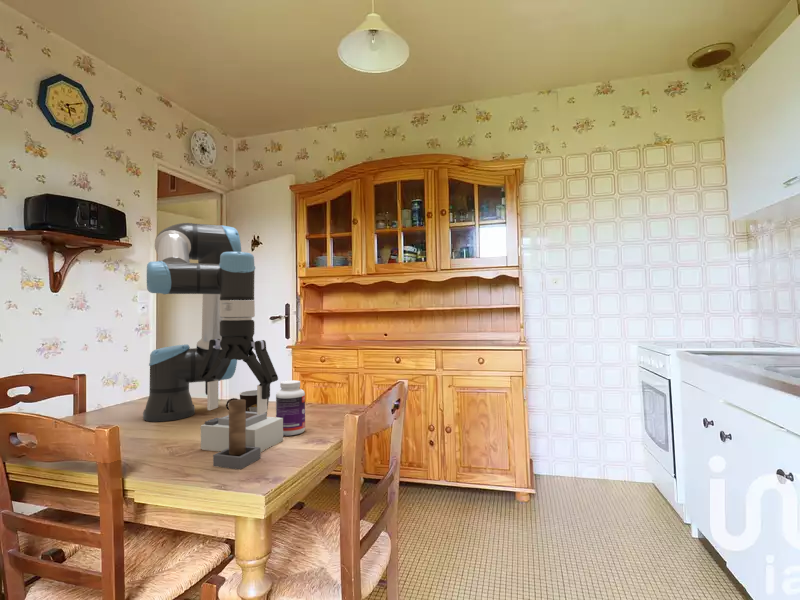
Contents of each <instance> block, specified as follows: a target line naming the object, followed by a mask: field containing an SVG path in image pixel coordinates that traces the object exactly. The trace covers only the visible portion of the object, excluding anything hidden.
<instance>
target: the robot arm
mask: <svg viewBox="0 0 800 600" xmlns="http://www.w3.org/2000/svg"><path fill="white" fill-rule="evenodd" d="M241 243H242V242H241V239H240V234H239V231H238V229H237V228H235V227H233V226H228V225H218V224H204V223H192V222H182V223H176V224H172V225H170V226H168V227H166V228H164V229H162V230H161V231H160V232H159V233H157V235H156V236H155V240H154V250H155V252H156V254H157V260H156V261H148V263H147V264H146V289H147V291H148V292H149V293H151V294H161V295H202V305H201V308H202V312H201V313H202V314H201V339H199V340H198V341H197V342H196V347H195V348H193V347H192V348H190V345H189V344H178V345H171V346H165V347H161V348H157V349H154V350H152V351H151V352H150V354H149V363H148V366H149V395H148V397H147V398H148V399H147V402H146V404H145V407H144V408H145V409H144V410H143V413H142V419H144V421H145V420H146V421H145V422H169V421H175V420H180V419H181V420H182V419H186V418H189V417H191V416H194V415H195V413H196V410H195V409H196V407H195V405H194V403H193V399H192V396H191V392H190V383H191V384H193V383H203V382H204V383H205V390H204V392H205V395H206V397H207V402H206V403H207V408H206V410H207V411H211V410H215V409H217V408H219V381H220V382H221V381H225V380H230V379H232V378H233V377H234V375H235V372H236V369H237V365H238V361H242V362H244V363H245V364H246V365H247V366H248V368H249V369H250V371H251V373H252V374H253V375H254V376H255V377H256V380H257V381H258V382H259V384H257V385H256V387H257V388H256V390H257V415H261V414H263V413H266V412H267V413H268V410H267V399H268V398H269V399H270V397H271V384H272V383H274V382H277V381H278V380H279V376H278V374H277V372H276V369H275V367H274V364H273V362H272V359H271V357H270V355H269V353H268V350H267V343H266V340H264V339H261V340H254V336H255V320H254V319H253V318H255V314H256V311H255V305H256V304H255V272H256V266H255V256H254V255H253V254H252V253H250V252H246V251H242V244H241ZM191 260H193V261H197V262H190V261H191ZM253 350H255V352H254V351H253Z"/></svg>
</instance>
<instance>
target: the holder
mask: <svg viewBox="0 0 800 600" xmlns="http://www.w3.org/2000/svg"><path fill="white" fill-rule="evenodd" d="M260 459H261V452H260V448H259V447H249V446H246V453H245V454H243V455H241V456H231V455H229V448H227V449H225V450H223V451H221V452H219V451H218V452H217V453H215V454H213V455H212V464H213V465H212V466H213V467H216V468H224V469H231V470H238V471H239V470H242V469H243V468H246V467H247V466H249V465H251V464H253V463H255V462H256V461H258V460H260Z"/></svg>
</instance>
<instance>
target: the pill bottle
mask: <svg viewBox="0 0 800 600" xmlns="http://www.w3.org/2000/svg"><path fill="white" fill-rule="evenodd" d="M300 387H301V381H300V380H296V379H295V380H293V379H292V380H291V379H290V380H282V381H280V387H279V388H281V389H279V390H277V392H276V394H275V411H276V412H275V417H278V418H283V436H285V437H286V436H287V437H288V436H297V435H299V434H300V435H301V434H302V433H303V432H305V430H306V393H305V390H303V389H302V388H300Z"/></svg>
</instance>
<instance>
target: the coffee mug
mask: <svg viewBox="0 0 800 600" xmlns="http://www.w3.org/2000/svg"><path fill="white" fill-rule="evenodd" d="M237 399H238V398H236V397H235V398H234V397H232V398H230V399H227V401H226V405H225V407H226V409H227V411H229V401H231V400H237ZM239 399H244V400H246V411H247V412H257V389H253V390H246V391H242V392H240V393H239ZM269 400H270V397H269V398H268V399H267V412H266V413H267V414H268V407H269V402H270V401H269Z"/></svg>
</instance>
